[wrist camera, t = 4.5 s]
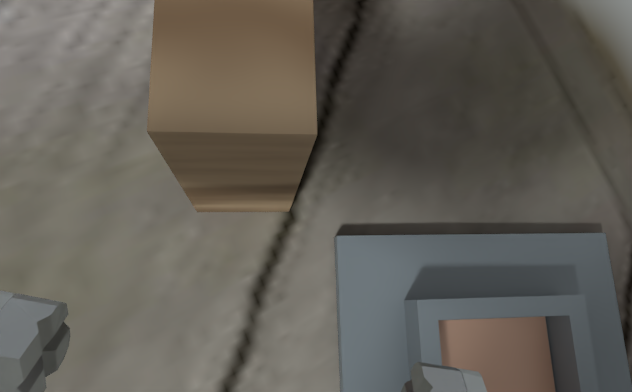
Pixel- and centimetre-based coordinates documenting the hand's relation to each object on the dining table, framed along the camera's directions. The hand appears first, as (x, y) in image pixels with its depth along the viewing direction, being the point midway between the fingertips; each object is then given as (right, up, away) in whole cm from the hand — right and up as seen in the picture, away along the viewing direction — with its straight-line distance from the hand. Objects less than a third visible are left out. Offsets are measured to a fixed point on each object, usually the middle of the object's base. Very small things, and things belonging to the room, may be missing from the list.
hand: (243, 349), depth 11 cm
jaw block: (-2, +5, +15) cm, 16 cm away
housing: (+11, -7, +14) cm, 19 cm away
